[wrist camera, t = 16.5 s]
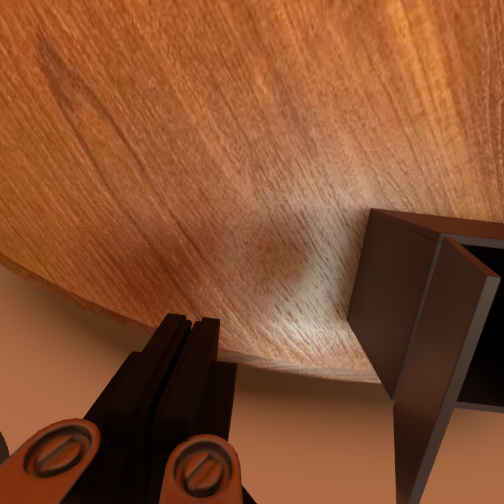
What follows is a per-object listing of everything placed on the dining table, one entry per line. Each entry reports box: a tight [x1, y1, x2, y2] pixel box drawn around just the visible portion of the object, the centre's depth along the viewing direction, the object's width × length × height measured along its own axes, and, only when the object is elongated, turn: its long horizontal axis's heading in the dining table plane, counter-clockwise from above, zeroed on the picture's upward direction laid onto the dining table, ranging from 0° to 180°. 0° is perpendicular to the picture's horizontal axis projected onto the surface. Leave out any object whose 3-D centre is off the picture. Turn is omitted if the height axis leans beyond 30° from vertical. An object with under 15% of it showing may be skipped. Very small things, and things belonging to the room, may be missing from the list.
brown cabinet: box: [346, 208, 504, 413], centre depth 17 cm, size 12×9×9 cm
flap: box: [393, 237, 501, 504], centre depth 11 cm, size 6×9×1 cm
